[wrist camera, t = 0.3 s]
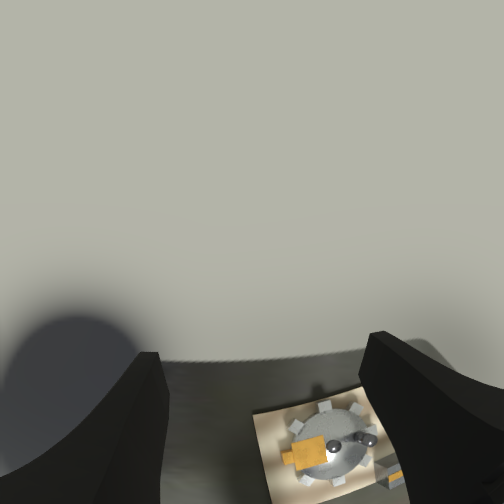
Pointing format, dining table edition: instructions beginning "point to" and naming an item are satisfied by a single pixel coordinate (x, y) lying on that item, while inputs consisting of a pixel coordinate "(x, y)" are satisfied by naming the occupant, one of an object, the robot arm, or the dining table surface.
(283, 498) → the base board
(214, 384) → the dining table surface
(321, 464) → the sprocket
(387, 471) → the link block
